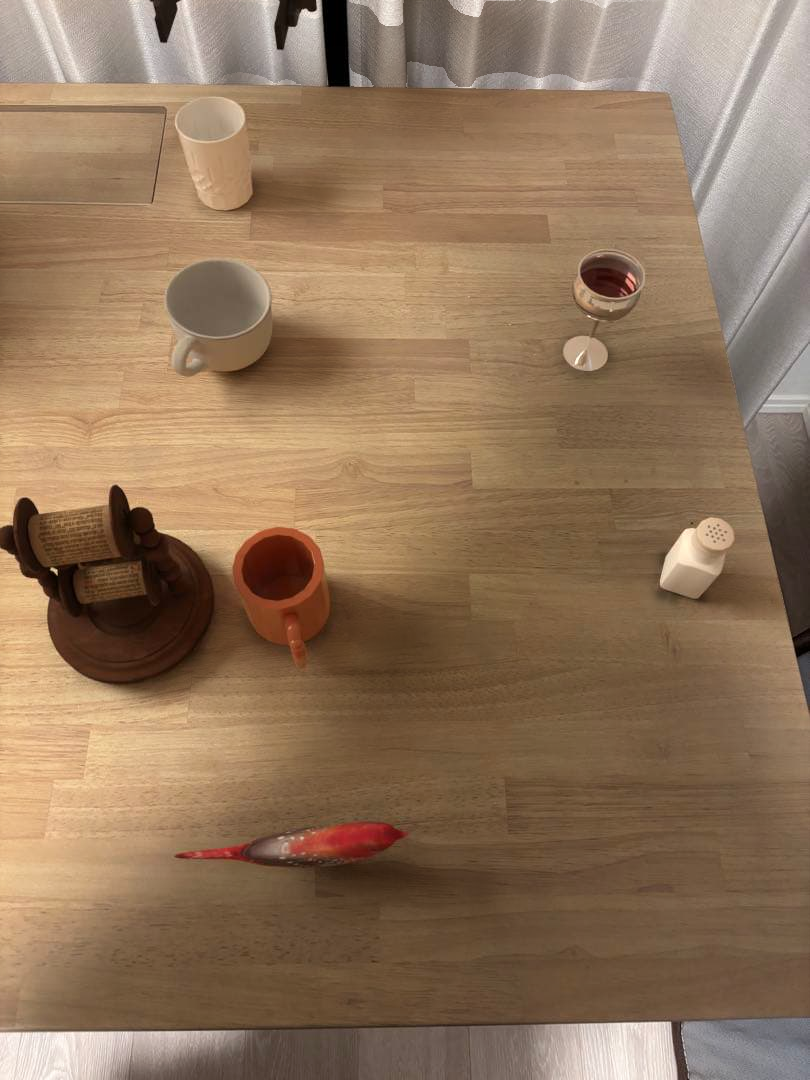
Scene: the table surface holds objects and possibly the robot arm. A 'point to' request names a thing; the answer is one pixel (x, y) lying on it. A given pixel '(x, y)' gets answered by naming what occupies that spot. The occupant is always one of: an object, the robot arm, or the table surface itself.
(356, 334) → the table surface
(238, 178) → the white cup
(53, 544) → the scroll
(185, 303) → the teacup
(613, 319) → the wineglass
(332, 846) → the decorative bird figurine
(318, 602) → the mug
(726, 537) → the salt shaker
